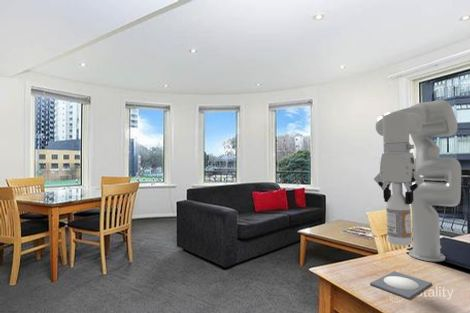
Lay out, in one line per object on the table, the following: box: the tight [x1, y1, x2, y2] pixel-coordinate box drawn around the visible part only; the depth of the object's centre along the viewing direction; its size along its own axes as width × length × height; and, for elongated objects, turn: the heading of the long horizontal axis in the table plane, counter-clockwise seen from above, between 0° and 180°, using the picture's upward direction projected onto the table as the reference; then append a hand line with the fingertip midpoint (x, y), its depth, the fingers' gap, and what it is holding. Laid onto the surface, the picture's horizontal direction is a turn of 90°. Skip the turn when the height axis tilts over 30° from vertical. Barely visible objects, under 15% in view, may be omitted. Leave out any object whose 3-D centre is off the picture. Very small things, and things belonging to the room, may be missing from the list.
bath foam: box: [385, 183, 413, 247], centre depth 92 cm, size 7×7×20 cm
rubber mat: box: [369, 271, 433, 300], centre depth 92 cm, size 16×12×1 cm
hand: (398, 202), depth 92 cm, fingers closed on bath foam, 6 cm apart
